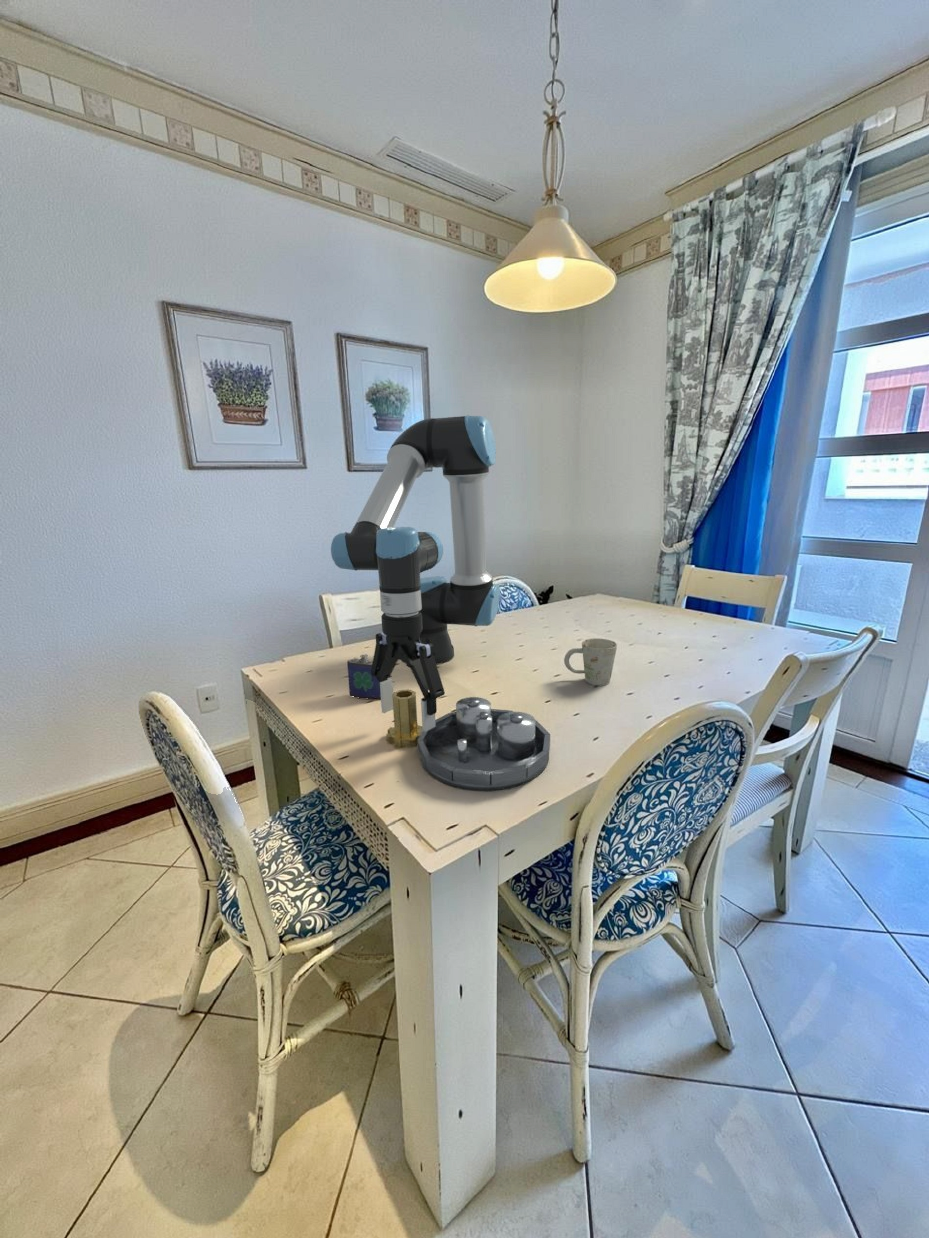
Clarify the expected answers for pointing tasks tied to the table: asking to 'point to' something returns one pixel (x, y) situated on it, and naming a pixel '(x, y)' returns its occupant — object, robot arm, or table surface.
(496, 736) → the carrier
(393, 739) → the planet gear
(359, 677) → the flask
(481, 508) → the robot arm
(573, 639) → the table surface
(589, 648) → the mug
